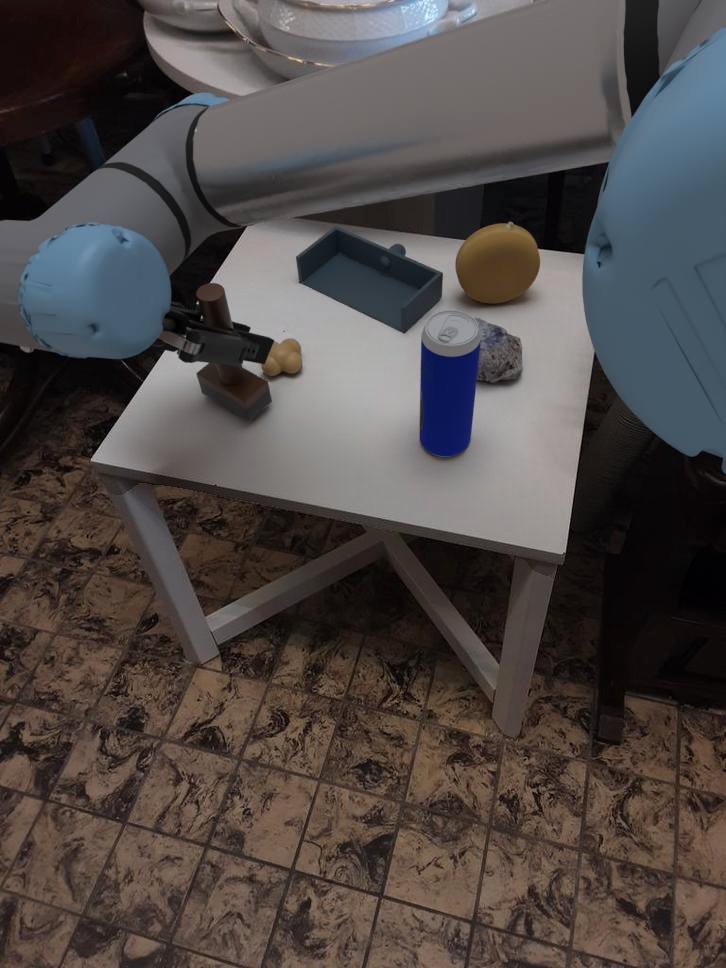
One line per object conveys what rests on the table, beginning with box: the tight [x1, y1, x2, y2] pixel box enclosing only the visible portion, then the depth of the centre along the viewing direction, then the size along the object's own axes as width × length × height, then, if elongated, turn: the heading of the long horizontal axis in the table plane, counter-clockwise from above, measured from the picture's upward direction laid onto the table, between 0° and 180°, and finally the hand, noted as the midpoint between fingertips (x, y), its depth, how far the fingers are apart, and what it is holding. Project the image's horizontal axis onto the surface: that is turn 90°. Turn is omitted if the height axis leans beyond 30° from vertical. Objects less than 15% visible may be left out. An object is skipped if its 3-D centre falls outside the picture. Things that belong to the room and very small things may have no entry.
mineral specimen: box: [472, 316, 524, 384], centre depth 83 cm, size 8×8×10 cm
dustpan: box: [295, 225, 444, 334], centre depth 92 cm, size 10×16×4 cm, turn 52°
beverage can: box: [418, 309, 481, 458], centre depth 72 cm, size 5×5×15 cm
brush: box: [195, 282, 273, 422], centre depth 76 cm, size 7×4×14 cm, turn 52°
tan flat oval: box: [454, 221, 541, 304], centre depth 87 cm, size 9×4×10 cm, turn 94°
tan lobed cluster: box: [260, 337, 303, 377], centre depth 85 cm, size 5×5×2 cm
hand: (254, 344), depth 80 cm, fingers closed on brush, 3 cm apart
